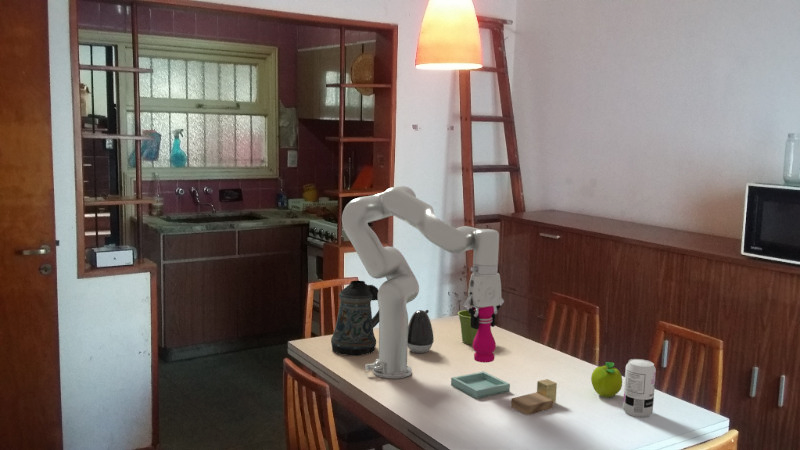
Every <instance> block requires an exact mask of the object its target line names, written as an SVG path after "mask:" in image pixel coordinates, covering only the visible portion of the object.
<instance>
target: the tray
mask: <svg viewBox="0 0 800 450" xmlns="http://www.w3.org/2000/svg"><path fill="white" fill-rule="evenodd" d="M450 380H451V381H450V385H451V386H452V387H453V388H455V389H457V390H459V391H461V392H463V393H465V394H466V395H469V396H470V397H472V398H474V399H476V400H477V399H482V398H486V397H491V396H495V395H500V394H504V393H509V392H510V391H511V390H510V388H511V384H510V383H509V382H507V381H504V380H502V379H500V378H498V377H496V376H494V375H492V374H490V373H488V372H487V371H479V372H474V373H473V372H472V373H469V374H464V375H458V376H453V377H450Z"/></svg>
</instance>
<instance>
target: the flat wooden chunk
mask: <svg viewBox="0 0 800 450" xmlns="http://www.w3.org/2000/svg"><path fill="white" fill-rule="evenodd" d="M510 400H511V401H510V407H511V408H513V409H515V410H517V411H518V412H520V413H523V414H524V415H527V416H529V415H533V414H536V413H537V414H538V413H541V412H545V411H548V410H552V409H554V403H553V400H552V399H550V398H548V397H546V396H544V395H541V394H539V393H537V391H535V392H532V393H529V394H524V395H520V396H515V397H511V399H510Z"/></svg>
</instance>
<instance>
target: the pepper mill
mask: <svg viewBox="0 0 800 450" xmlns="http://www.w3.org/2000/svg"><path fill="white" fill-rule="evenodd" d="M493 313H494V307H493V306H488V307H485V308H479V312H478V317H479V329H478V331H477V334H476V336H475V338H474V341H473V345H472V349H473V350H474V351H475V352H474V354H473V359H474V361H476V362H478V363H485V364H486V363H491V362H494V361H495V353H494V352H495V351H496V347H497V344H496V340H495V338H494V336H493V333H492V329H491V327H492V326H491V322H492V317H491V316H492V315H493Z"/></svg>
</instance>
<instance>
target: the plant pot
mask: <svg viewBox="0 0 800 450" xmlns="http://www.w3.org/2000/svg"><path fill="white" fill-rule="evenodd" d="M474 311H475V310H474ZM457 315H458V316H459V317H458V318H459V321H460V330H461V331H460V332H461V340H462V343H464V344H466V345H472V346H473V341H474V338H475V336H476V334H477V331H478V329H474V328H472V327H471V315H470V314H469V312H468V311H467V310H466V309H465V310H460V311H458V312H457Z"/></svg>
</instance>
